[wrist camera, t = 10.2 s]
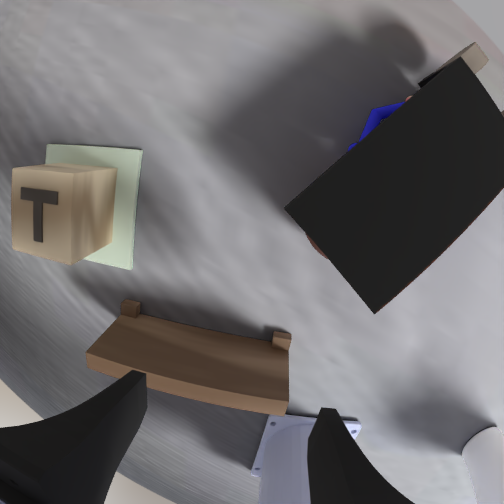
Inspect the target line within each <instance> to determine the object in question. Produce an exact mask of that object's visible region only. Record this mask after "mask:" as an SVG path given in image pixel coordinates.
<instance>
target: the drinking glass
mask: <svg viewBox="0 0 504 504" xmlns="http://www.w3.org/2000/svg"><path fill="white" fill-rule="evenodd" d="M462 458H463V461H464V463H465V465H466V468H467V470H468V473H469V477H470V480H471V483H472V486H473V490H474V493H475V497H476V500H477V504H504V434H503V432H502V431H501V430H500V429H499V428H497V427H490V428H487V429H485V430H483V431H481V432H479V433H478V434H476V435H475V436H474V437H472V438H471V439H470V440H469V441H468V443H467V444H466V445H465V447H464V448H463V451H462Z"/></svg>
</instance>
